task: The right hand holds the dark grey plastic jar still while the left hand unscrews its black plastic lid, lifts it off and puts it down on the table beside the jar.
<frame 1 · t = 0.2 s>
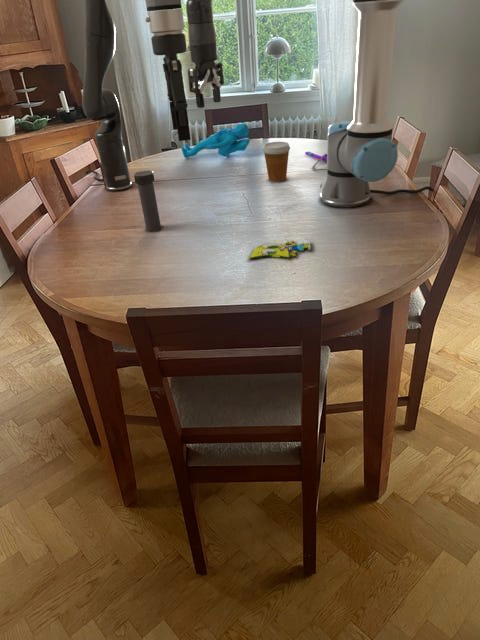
left hand: (209, 104, 142), 29 cm above the table, tool pointing down, fingers open, 8 cm apart
right hand: (181, 134, 117), 28 cm above the table, tool pointing down, fingers open, 13 cm apart
jar: (153, 228, 142), on the table
musical instrument: (322, 163, 185), on the table
lid: (143, 174, 133), point 16 cm above the table, screwed on, not yet turned
disposable coffee cup: (277, 179, 172), on the table
toy 2: (280, 251, 122), on the table
toy: (216, 156, 207), on the table
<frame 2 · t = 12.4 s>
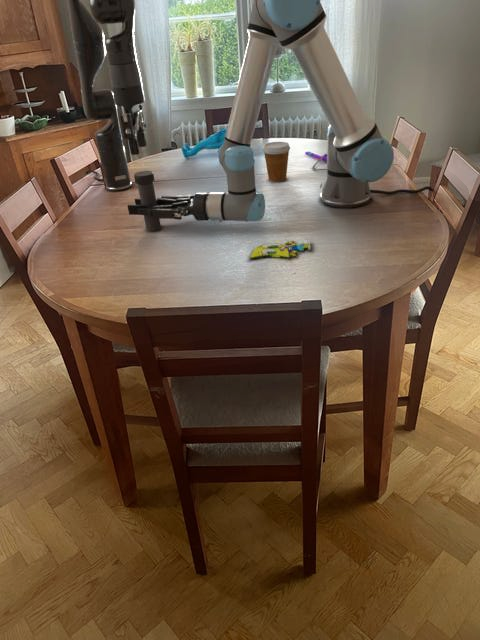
left hand: (139, 150, 129), 23 cm above the table, tool pointing down, fingers open, 7 cm apart
right hand: (132, 206, 139), 7 cm above the table, tool horizontal, fingers closed on jar, 4 cm apart
jar: (153, 228, 142), on the table, touching right hand
everything else where it was.
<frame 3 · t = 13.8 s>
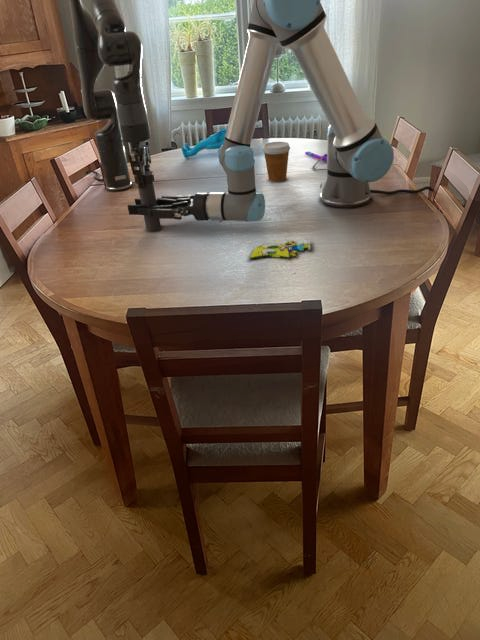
left hand: (145, 184, 135), 13 cm above the table, tool pointing down, fingers closed on lid, 5 cm apart
right hand: (132, 206, 139), 7 cm above the table, tool horizontal, fingers closed on jar, 4 cm apart
jar: (153, 228, 142), on the table, touching right hand
lid: (143, 174, 133), point 16 cm above the table, screwed on, not yet turned, touching left hand
everything else where it was.
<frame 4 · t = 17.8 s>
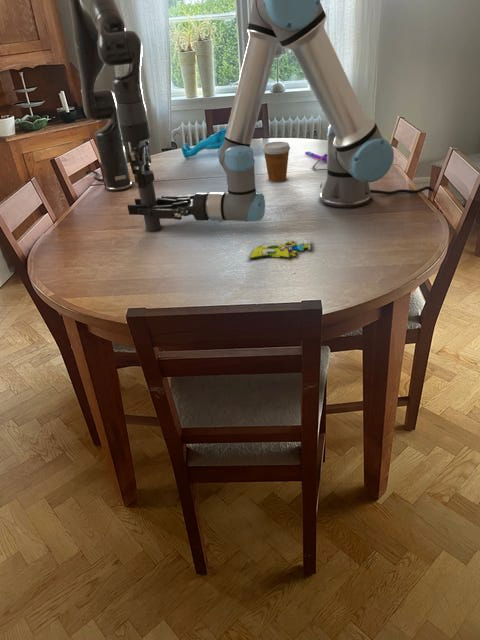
left hand: (145, 184, 134), 13 cm above the table, tool pointing down, fingers closed on lid, 5 cm apart
right hand: (132, 206, 139), 7 cm above the table, tool horizontal, fingers closed on jar, 4 cm apart
jar: (153, 228, 142), on the table, touching right hand
lid: (143, 174, 133), point 16 cm above the table, turned 101° so far, risen 0.2 cm, still on its thread, touching left hand
everything else where it was.
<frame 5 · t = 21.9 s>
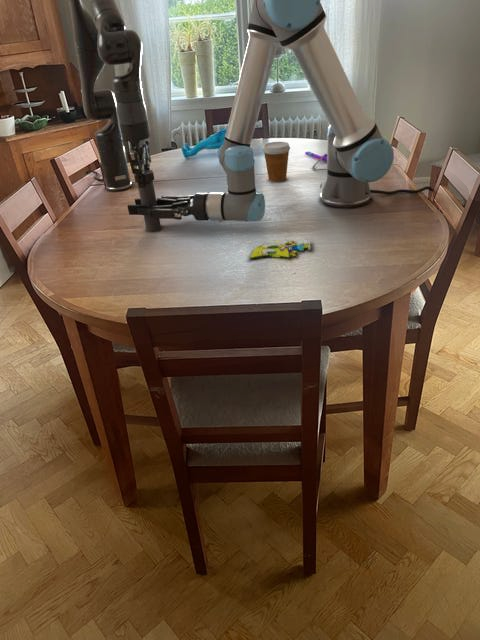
left hand: (145, 183, 134), 13 cm above the table, tool pointing down, fingers closed on lid, 5 cm apart
right hand: (132, 206, 139), 7 cm above the table, tool horizontal, fingers closed on jar, 4 cm apart
jar: (153, 228, 142), on the table, touching right hand
lid: (143, 173, 133), point 16 cm above the table, turned 201° so far, risen 0.3 cm, still on its thread, touching left hand
everything else where it was.
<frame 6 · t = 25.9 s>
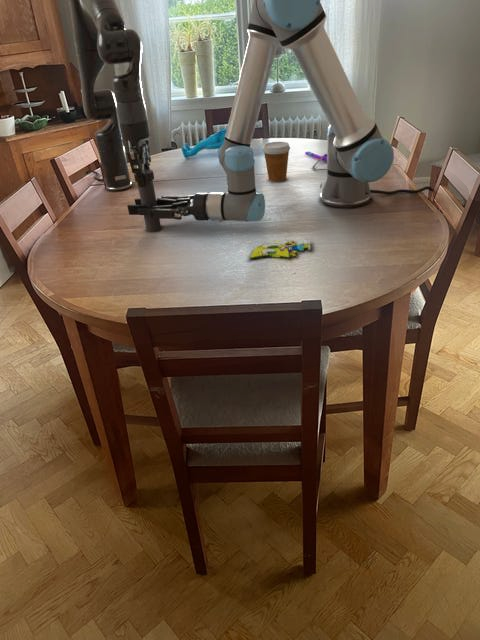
left hand: (145, 183, 134), 14 cm above the table, tool pointing down, fingers closed on lid, 5 cm apart
right hand: (132, 206, 139), 7 cm above the table, tool horizontal, fingers closed on jar, 4 cm apart
jar: (153, 228, 142), on the table, touching right hand
lid: (143, 172, 133), point 16 cm above the table, turned 302° so far, risen 0.5 cm, still on its thread, touching left hand
everything else where it was.
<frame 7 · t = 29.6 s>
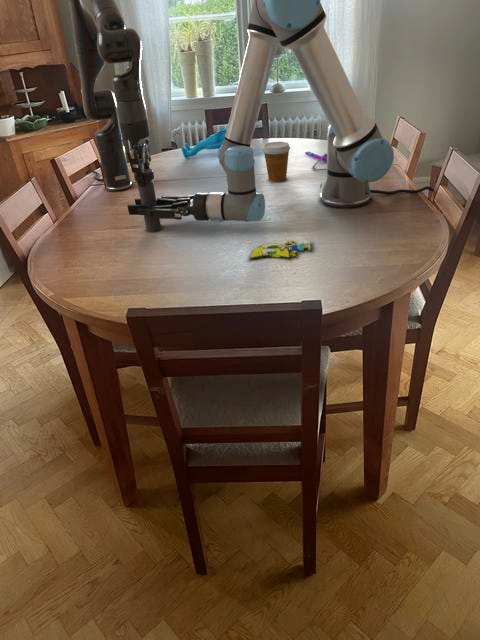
left hand: (145, 182, 134), 14 cm above the table, tool pointing down, fingers closed on lid, 5 cm apart
right hand: (132, 206, 139), 7 cm above the table, tool horizontal, fingers closed on jar, 4 cm apart
jar: (153, 228, 142), on the table, touching right hand
lid: (143, 172, 133), point 17 cm above the table, turned 403° so far, risen 0.6 cm, still on its thread, touching left hand
everything else where it was.
when the left hand's fingers open (0 cm above the table, at t = 37.1 s): lid drops 1 cm, point 2 cm above the table.
when the right hand's fingers open (7 cm above the table, at t = 37.9 s): jar stays where it is, on the table.
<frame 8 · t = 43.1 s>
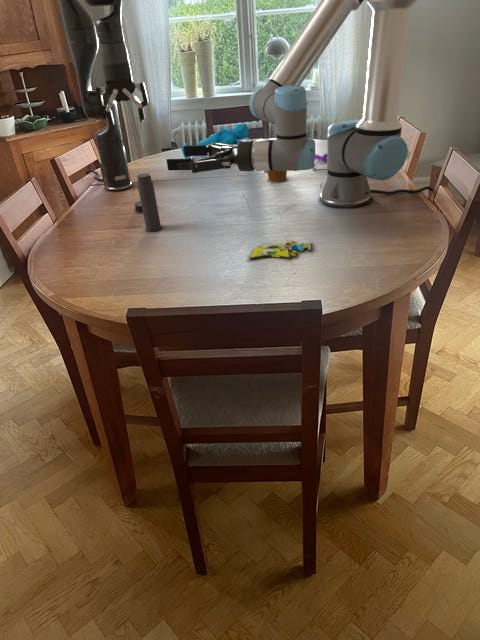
left hand: (127, 123, 142), 27 cm above the table, tool pointing down, fingers open, 8 cm apart
right hand: (176, 157, 128), 20 cm above the table, tool horizontal, fingers open, 13 cm apart
jar: (153, 228, 142), on the table
lid: (143, 204, 155), point 2 cm above the table, off its thread
everything else where it was.
at the end: lid came off its thread; lid point 1.9 cm above the table; the left hand is holding nothing; the right hand is holding nothing; jar tilted 0°; jar moved 0.1 cm from its start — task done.
